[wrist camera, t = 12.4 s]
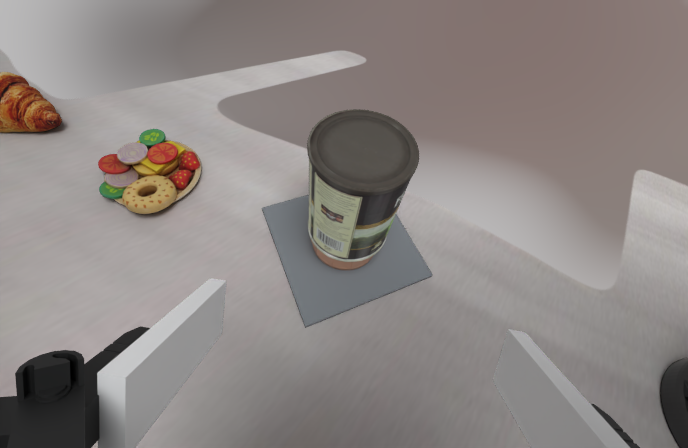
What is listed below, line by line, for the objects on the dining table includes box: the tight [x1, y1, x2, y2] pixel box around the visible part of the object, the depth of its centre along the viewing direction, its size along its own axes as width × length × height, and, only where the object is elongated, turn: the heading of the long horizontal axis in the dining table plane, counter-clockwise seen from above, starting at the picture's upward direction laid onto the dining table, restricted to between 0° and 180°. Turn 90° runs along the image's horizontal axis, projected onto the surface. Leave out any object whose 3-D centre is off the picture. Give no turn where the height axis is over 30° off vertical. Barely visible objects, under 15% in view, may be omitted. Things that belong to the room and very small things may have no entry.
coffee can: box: [307, 109, 419, 262], centre depth 36 cm, size 10×10×14 cm
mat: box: [262, 195, 432, 328], centre depth 45 cm, size 18×18×1 cm
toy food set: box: [98, 129, 201, 214], centre depth 47 cm, size 13×13×3 cm
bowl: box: [311, 240, 374, 271], centre depth 43 cm, size 9×9×4 cm
